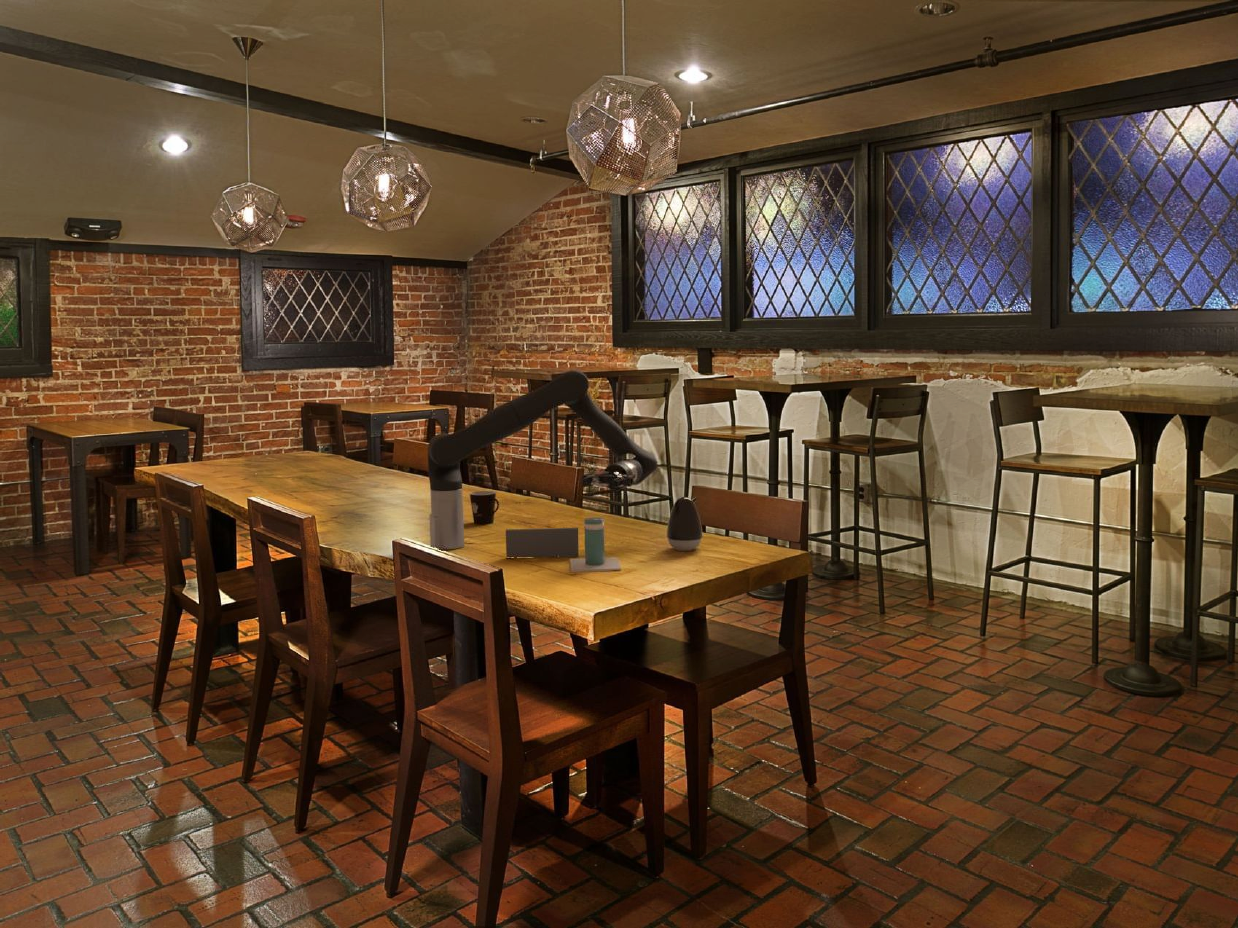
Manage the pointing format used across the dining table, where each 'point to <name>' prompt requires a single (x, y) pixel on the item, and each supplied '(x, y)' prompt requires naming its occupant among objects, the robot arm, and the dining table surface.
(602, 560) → the canister
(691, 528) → the black egg-shaped body
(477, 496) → the coffee mug
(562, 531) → the screen
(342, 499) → the dining table surface
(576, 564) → the pad
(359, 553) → the dining table surface
